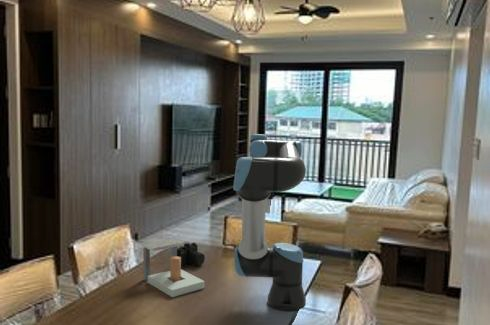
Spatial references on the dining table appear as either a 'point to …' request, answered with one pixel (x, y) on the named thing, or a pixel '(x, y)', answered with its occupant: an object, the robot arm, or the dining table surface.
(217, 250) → the dining table surface
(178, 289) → the socket board
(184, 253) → the camera
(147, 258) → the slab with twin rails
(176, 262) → the peg
